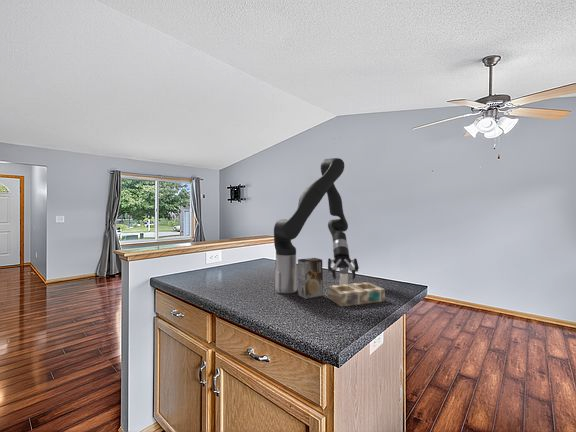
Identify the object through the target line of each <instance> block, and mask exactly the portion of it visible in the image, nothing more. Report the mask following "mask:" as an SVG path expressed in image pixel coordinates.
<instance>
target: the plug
mask: <svg viewBox="0 0 576 432" xmlns="http://www.w3.org/2000/svg"><path fill="white" fill-rule="evenodd" d="M343 284H349V270H348V268H339V285H343Z"/></svg>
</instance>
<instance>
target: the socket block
mask: <svg viewBox="0 0 576 432" xmlns="http://www.w3.org/2000/svg"><path fill="white" fill-rule="evenodd" d="M327 298H328V299H329V300H331V301H332V302H334V303H335V304H337V305H338V306H340V307H347V306H348V307H350V306H356V305H366V304H374V303H381V302H382V301H383V302H386V289H385V288H383V287H381V286H379V285H376V284H373V283H372V282H369V281H365V282H364V281H363V282H355V283H353V282H352V283H348V284H343V285H340V284H334V285H333V284H332V285H327Z"/></svg>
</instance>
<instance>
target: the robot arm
mask: <svg viewBox="0 0 576 432" xmlns="http://www.w3.org/2000/svg"><path fill="white" fill-rule="evenodd" d="M344 170H345V162H344V160H343V159H342V158H339V157H334V158H326V159H325V158H324V159H323V160H322V161H321V163H320V173H321V176H320V177H319V178H317V179H316V180H315V181H313V182H311V183H310V184H309V185H308V186H307V187H306V188H305V189H304V191H303V192H302V193H301V195H300V197H299V200H298V205H297V208H296V210H295V211H294V212H293V214H292V215H291V217H290V218H289V219H284V218H283V219H279V220H276V222H275V224H274V227H273V242H274V249H275V254H276V256H275V257H276V259H275V260H276V268H275V271H274V273H275V274H274V275H275V277H274V283H275V284H274V285H275V291H276V293H278V294H292V293H295V292H297V248H296V247H295V246H294V245H293V242H292V240H294V239H296V238H297V237H298V236H299V234H300V233H301V231H302V229H303V227H304V226H305V224H306V223H307V221H308V219H309V218H310V216H311V215H312V213H313V212H314V210H315V209H316V208H317V207H318V205H319V204H320V202H321V201H322V199H323V198H324V196H325V195H326V194H327V199H328V200H327V201H328V207H329V214H330V215H331V216H332V217H338V219H337V218H335V219H330V220H329V221H328V223H327V228H328V230H329V232H330V235H331V237H332V251H333V259H332V258H330V257H329V258H328V259H327V271H328V272H329V273H330V272H331V275H332V279H333V280H336V279H337V275H336V274H337V273H336V271H337V270H338V269H340V268H348V271H350V272H351V279H352V280H355V279H356V272H358V271H359V268H360V267H359V264H358V260H357V258H354V259H351V258H350V252H349V251H350V250H349V245H348V240H347V235H346V233H345V232H347V230H349V229H348V228H349V224H348V221H347V218H346V216H345V214H344V207H343V201H342V196H341V194H340V192H339V191H338V190H337V187H336V185H335V182H336V181H337V180H338V179H339V178H340V177H341V175H342V174H343V172H344ZM332 264H334V266H333V267H332Z"/></svg>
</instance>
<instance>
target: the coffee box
mask: <svg viewBox="0 0 576 432" xmlns="http://www.w3.org/2000/svg"><path fill="white" fill-rule="evenodd" d="M323 270H324V269H323V259H322V258H316V257H306V258H299V259H297V278H298V280H297V282H298V283H297V284H298V285H297V286H298V289H297V290H298V296H299V297H301V298H302V299H312V298H317V297H323V296H324V286H323V284H324V283H323V282H324V281H323V279H324V278H323V277H324V276H323Z"/></svg>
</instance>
